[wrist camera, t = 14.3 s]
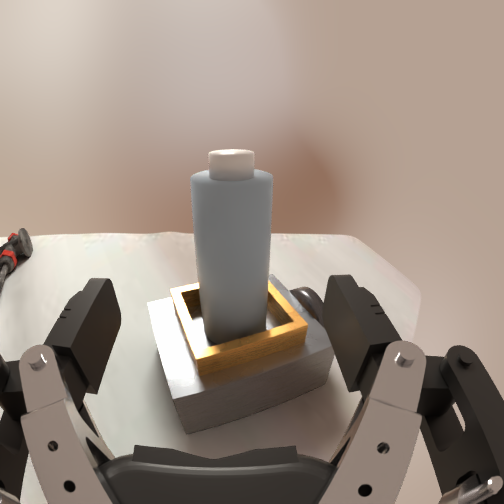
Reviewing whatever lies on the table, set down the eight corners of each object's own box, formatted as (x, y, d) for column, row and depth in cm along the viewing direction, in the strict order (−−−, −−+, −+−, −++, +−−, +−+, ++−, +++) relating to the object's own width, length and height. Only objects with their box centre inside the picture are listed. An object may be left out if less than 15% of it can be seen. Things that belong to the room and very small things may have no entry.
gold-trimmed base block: (186, 434, 21) (167, 383, 17) (158, 344, 30) (143, 286, 26) (337, 378, 26) (356, 319, 22) (280, 311, 36) (285, 255, 32)
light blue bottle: (215, 355, 22) (201, 162, 15) (196, 314, 26) (181, 151, 19) (277, 336, 24) (289, 156, 17) (250, 300, 28) (252, 145, 21)
